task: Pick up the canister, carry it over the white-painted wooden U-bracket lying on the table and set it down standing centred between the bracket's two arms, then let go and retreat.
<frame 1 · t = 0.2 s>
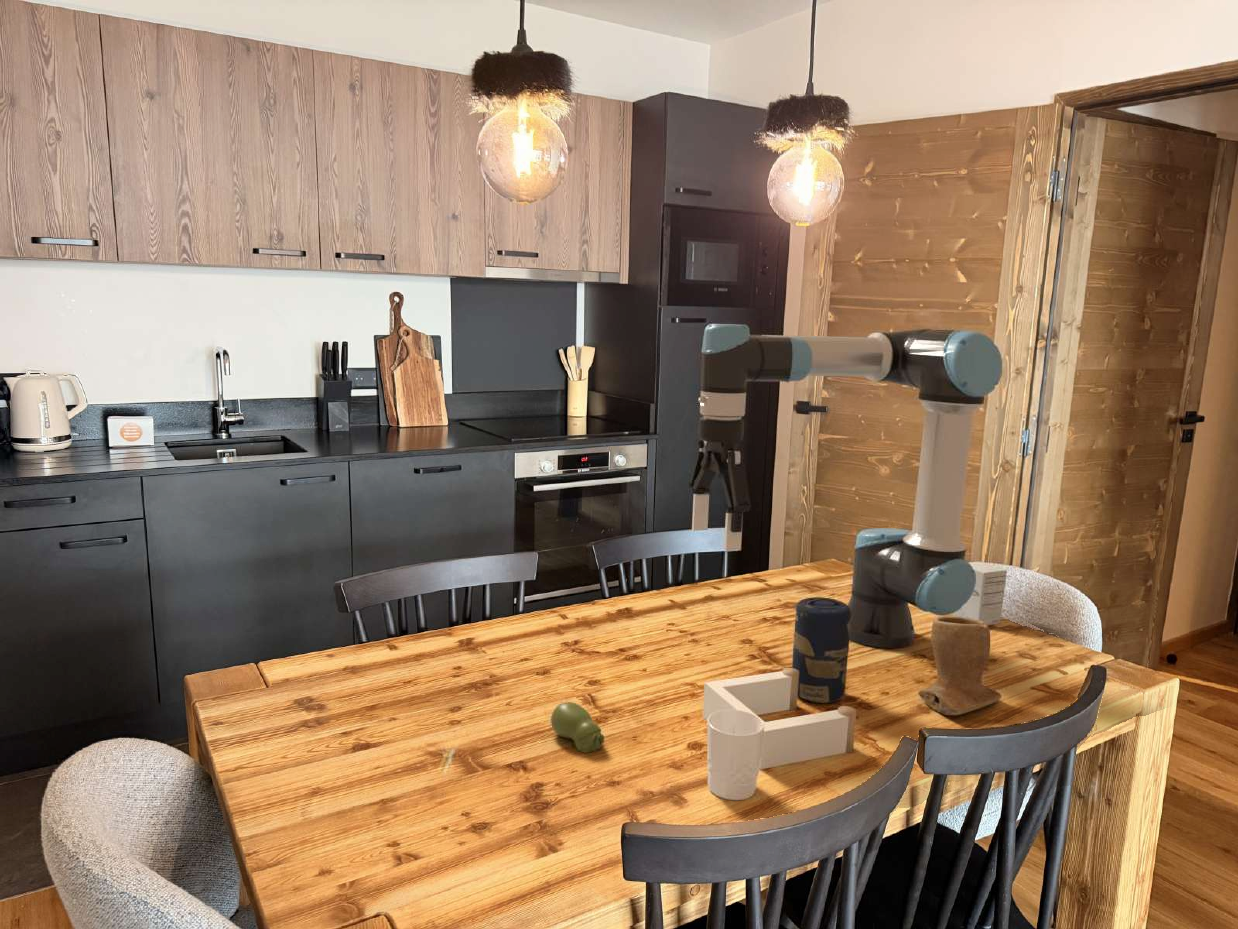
hand: (715, 539, 149), 28 cm above the table, fingers open, 13 cm apart
pear: (577, 742, 135), on the table
supplement box: (976, 621, 197), on the table
canister: (816, 696, 154), on the table
bracket: (781, 732, 140), on the table
stone cup: (953, 703, 154), on the table
white cup: (731, 789, 123), on the table
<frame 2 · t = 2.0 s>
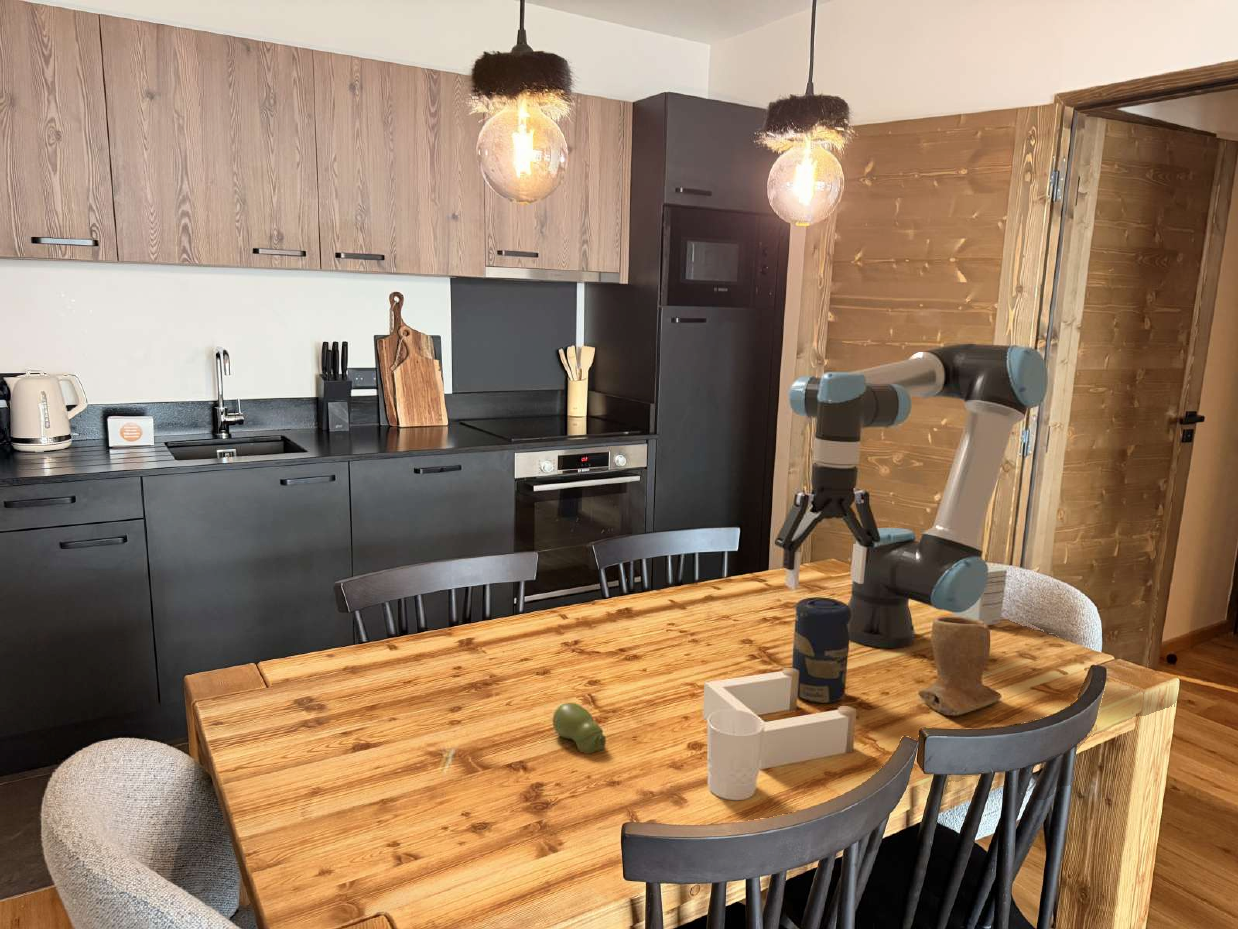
hand: (824, 584, 151), 20 cm above the table, fingers open, 13 cm apart
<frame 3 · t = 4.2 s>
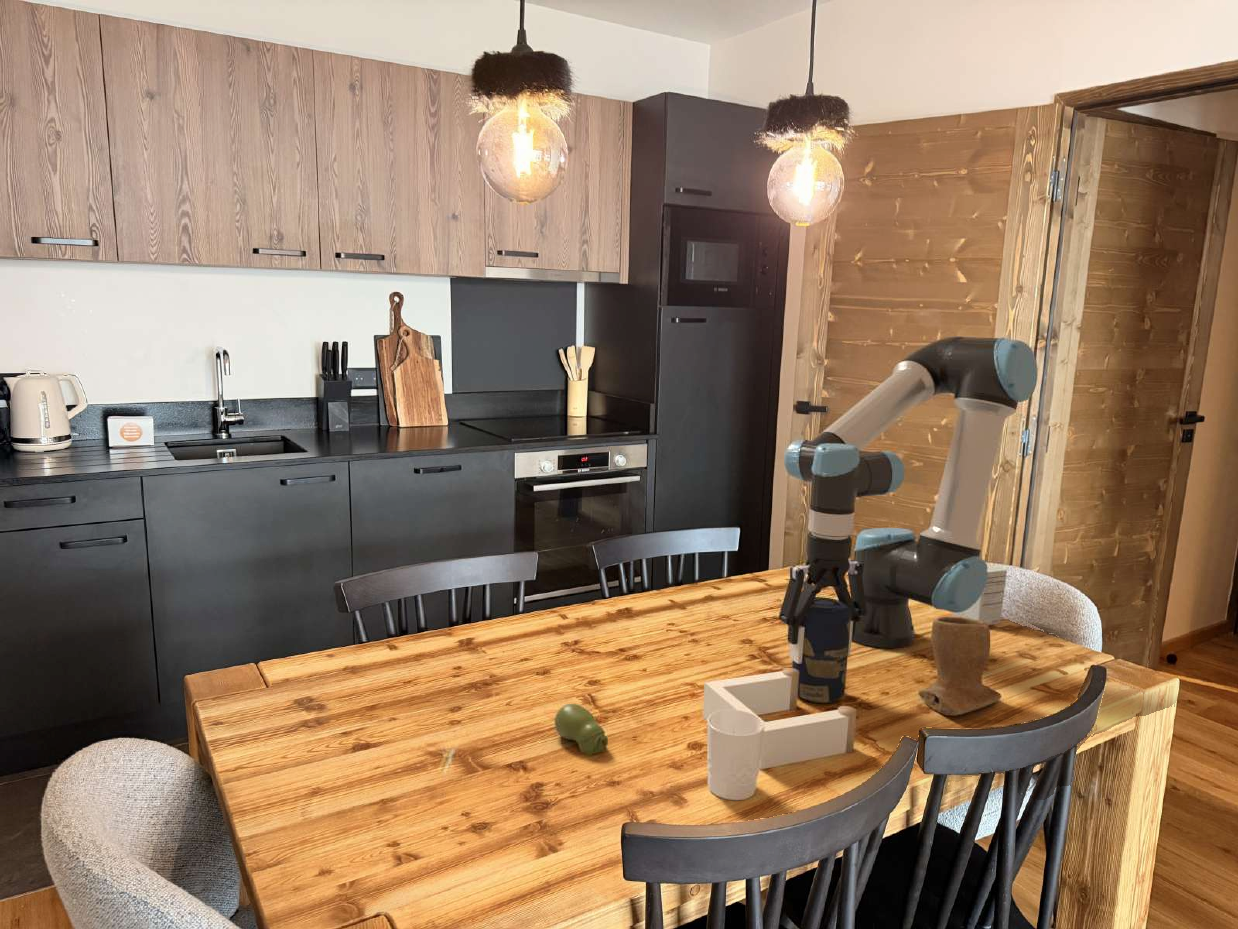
hand: (819, 657, 153), 7 cm above the table, fingers closed on canister, 9 cm apart
canister: (816, 696, 154), on the table, touching gripper
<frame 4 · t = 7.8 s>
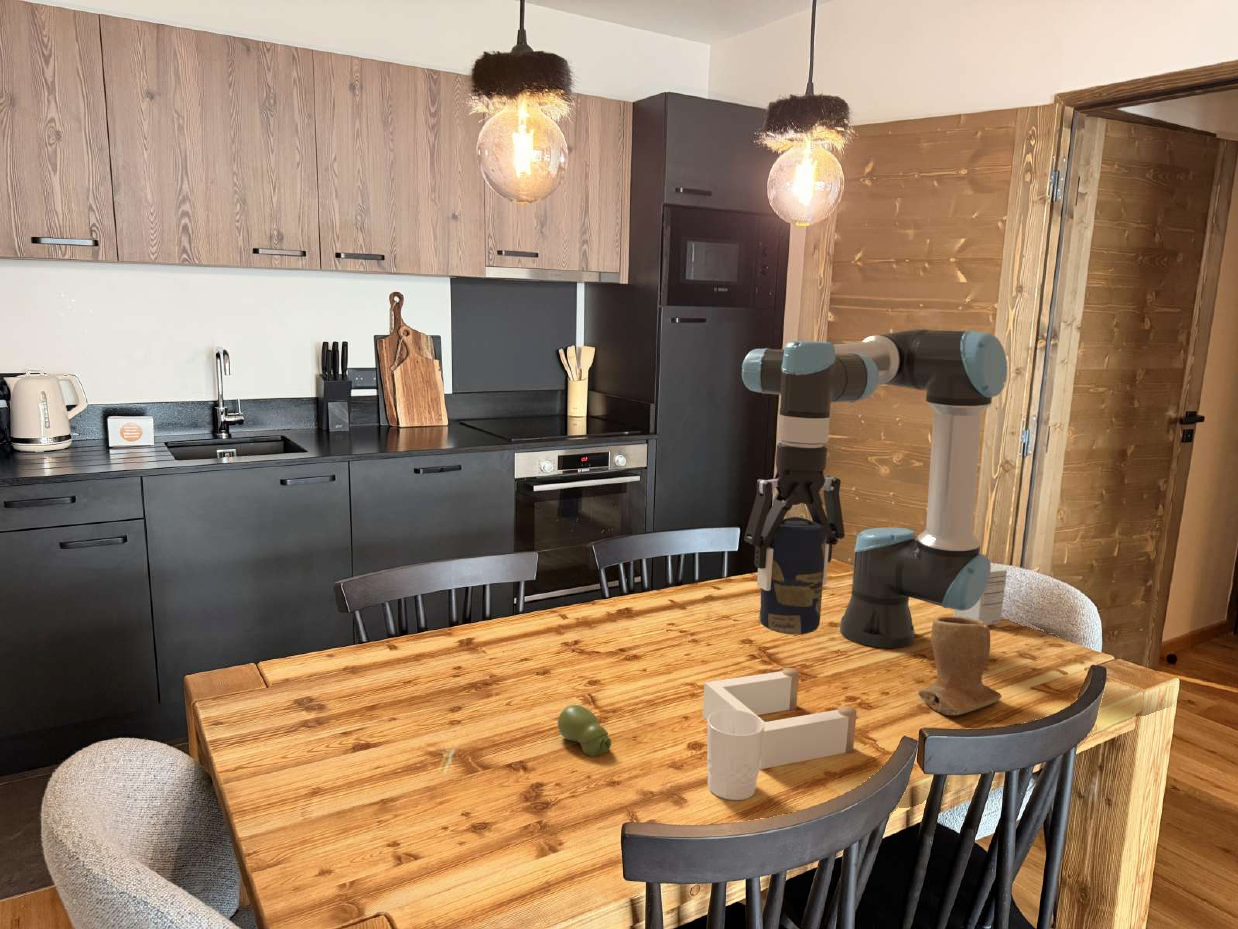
hand: (791, 585, 136), 25 cm above the table, fingers closed on canister, 9 cm apart
canister: (788, 629, 137), point 17 cm above the table, touching gripper
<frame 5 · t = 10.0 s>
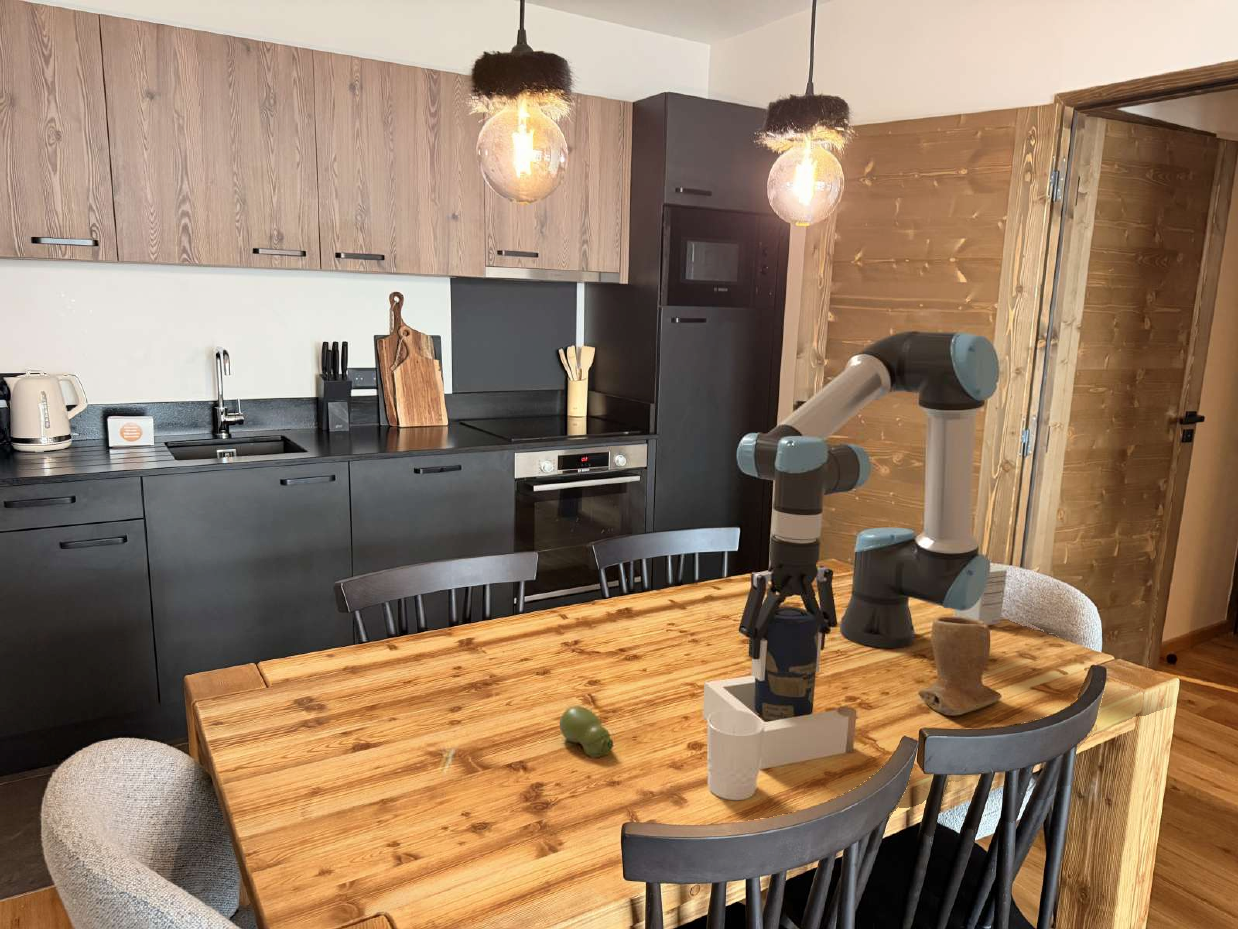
hand: (785, 673, 138), 10 cm above the table, fingers closed on canister, 9 cm apart
canister: (781, 716, 139), point 3 cm above the table, touching gripper
when the fingers open (8 cm above the table, at t = 11.6 s): canister stays where it is, on the table.
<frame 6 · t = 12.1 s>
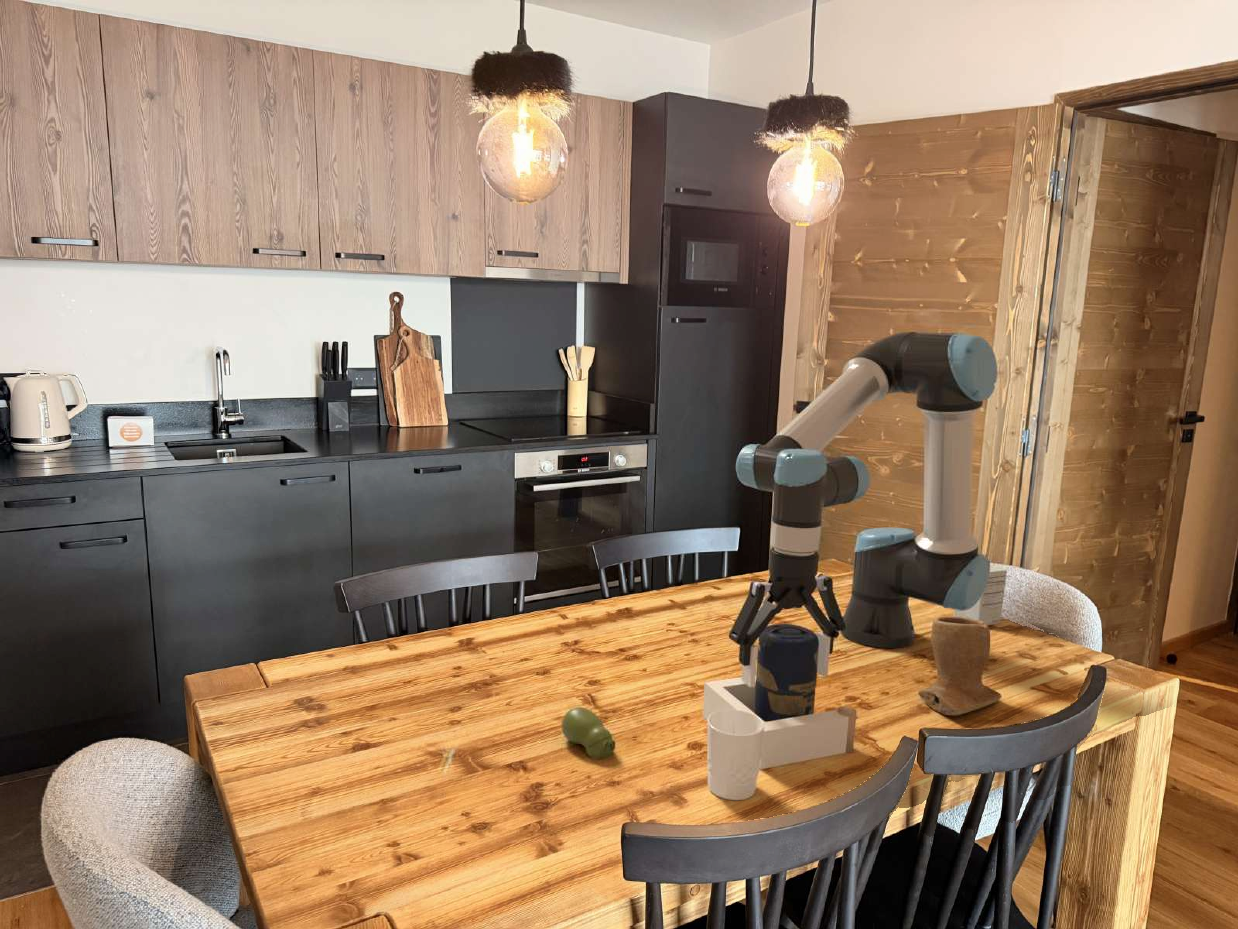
hand: (784, 678, 138), 9 cm above the table, fingers open, 13 cm apart
canister: (781, 733, 140), on the table
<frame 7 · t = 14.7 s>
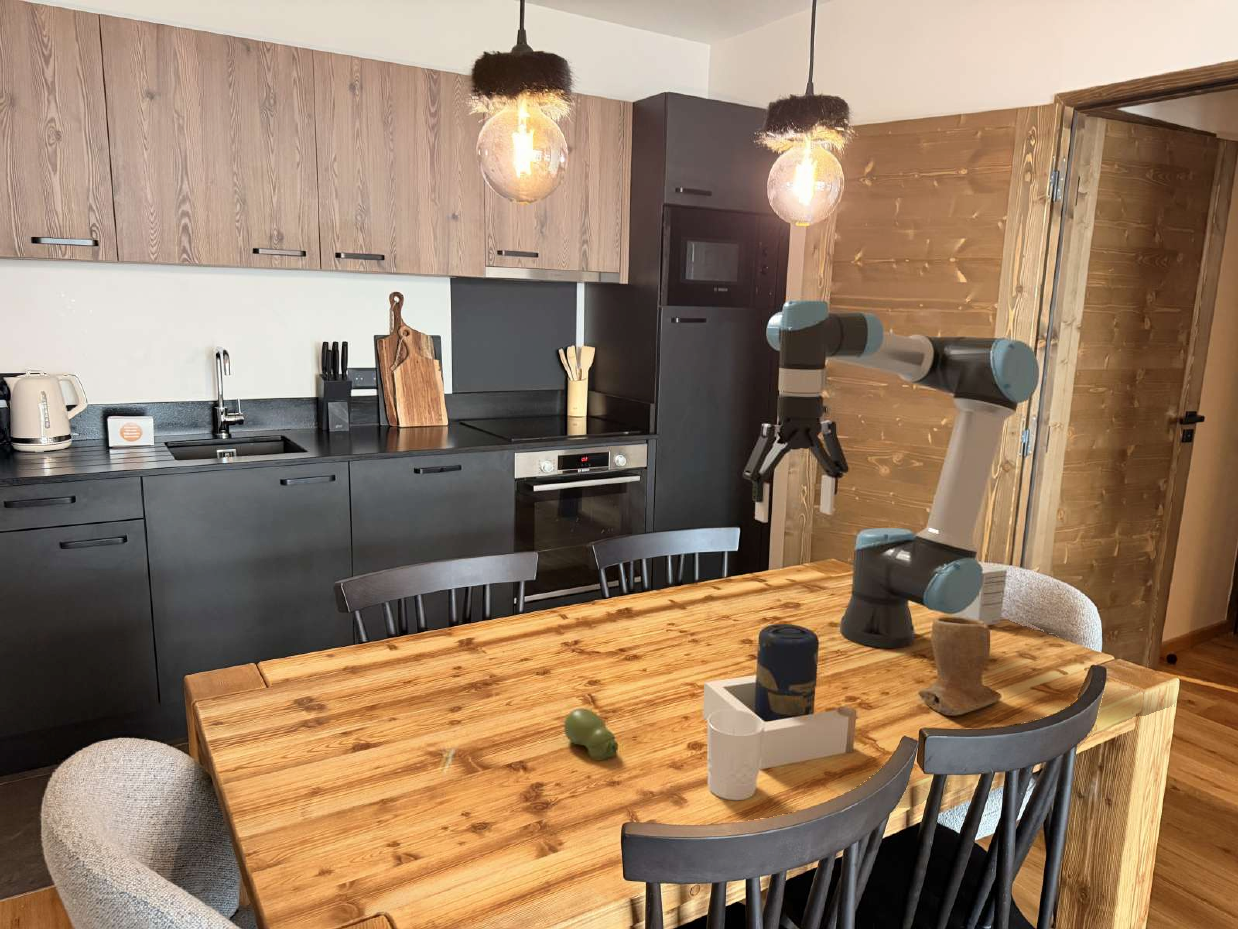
hand: (794, 517, 149), 32 cm above the table, fingers open, 13 cm apart
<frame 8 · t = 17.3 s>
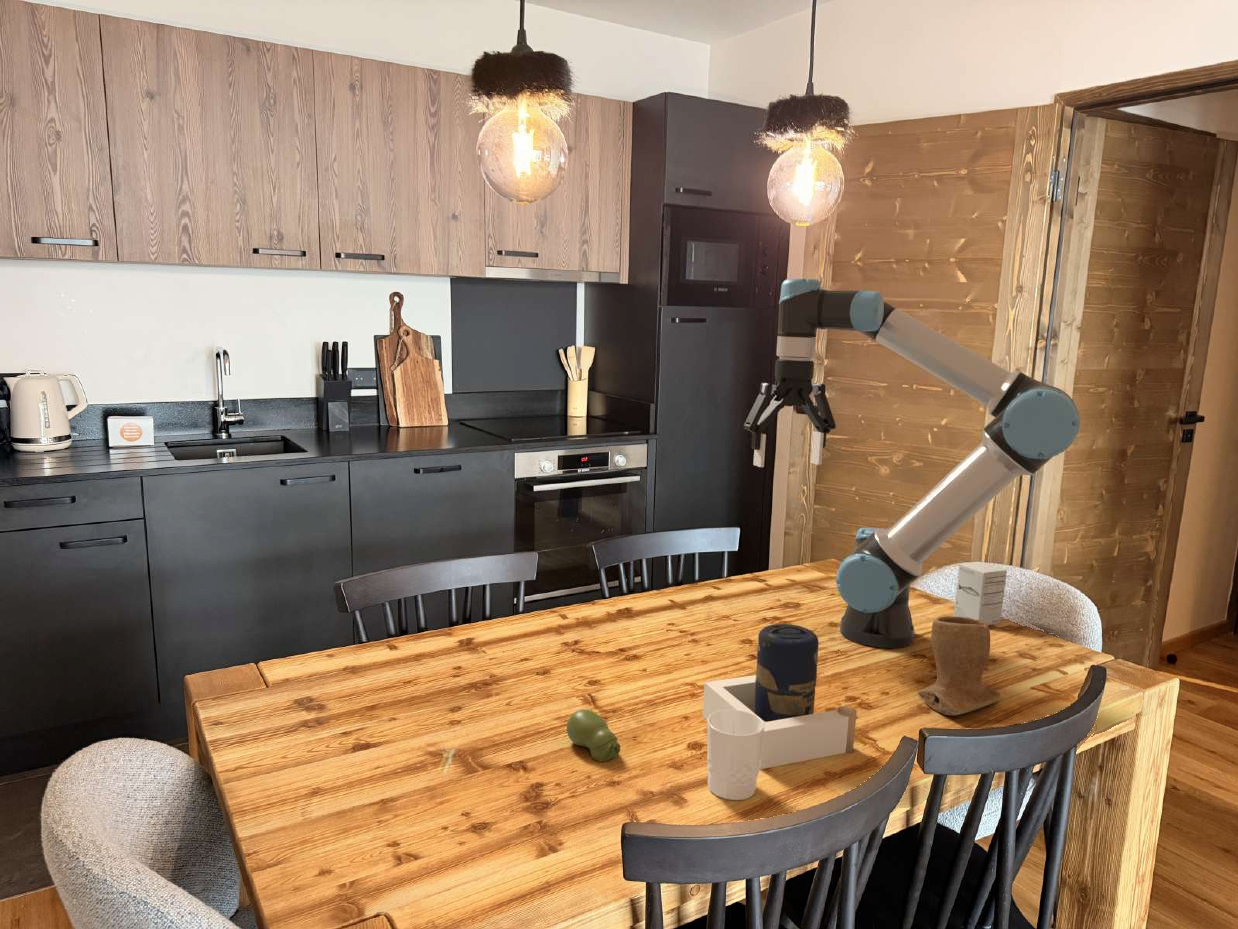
hand: (787, 465, 175), 37 cm above the table, fingers open, 13 cm apart
at the end: canister inside the target area on the bracket (0.5 cm from its centre), point 0.0 cm above the bracket's base; canister tilted 0°; the gripper is holding nothing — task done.
